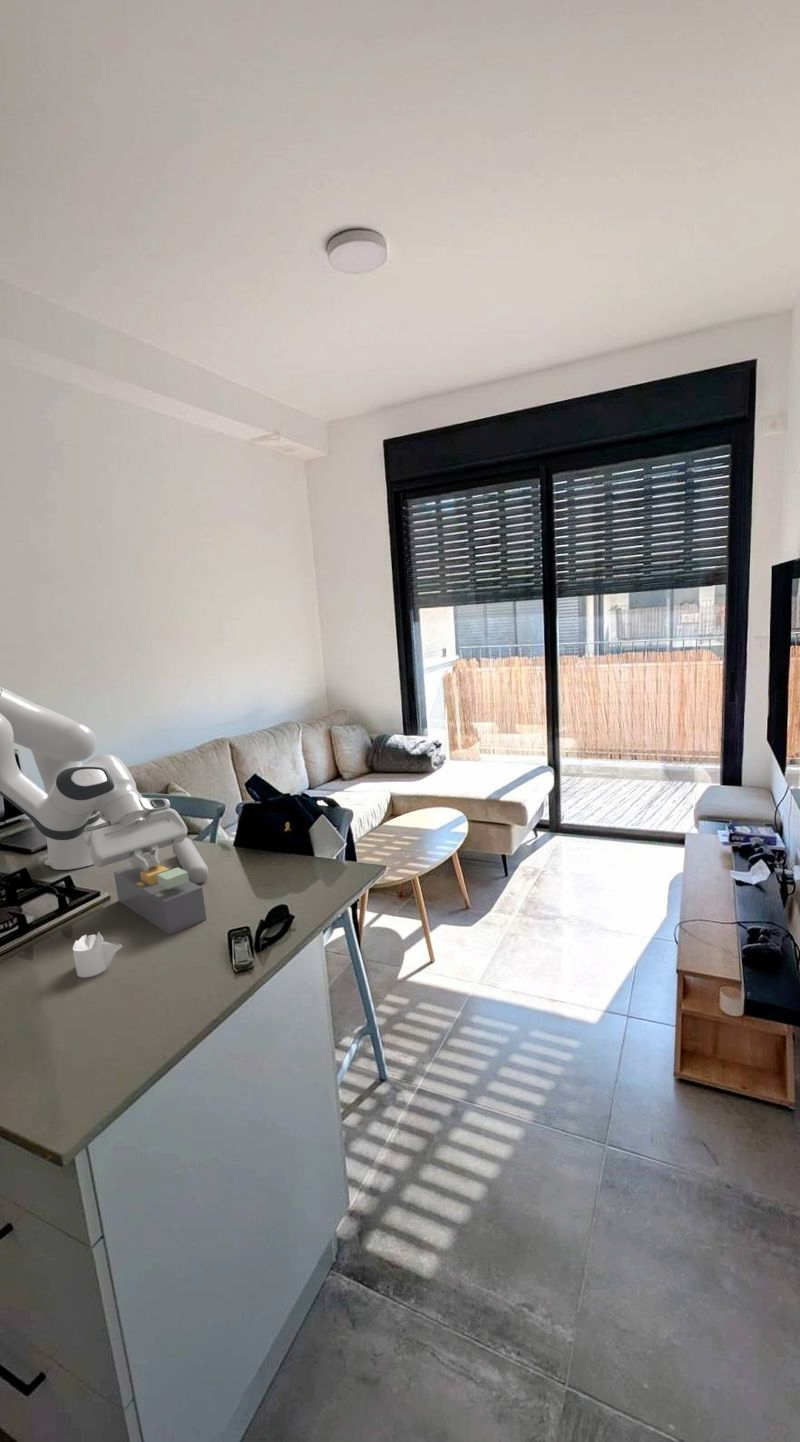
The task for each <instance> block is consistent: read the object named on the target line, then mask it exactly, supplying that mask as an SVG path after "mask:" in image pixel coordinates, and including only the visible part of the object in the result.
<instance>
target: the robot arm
mask: <svg viewBox="0 0 800 1442" xmlns="http://www.w3.org/2000/svg"><path fill="white" fill-rule="evenodd" d="M15 745H19V746H21V747H23V748H26V749H29V750H30V751H31V754H32V757H33V758H34V759H33V760H34V762H35V766H36V768H37V770H38V773H39V775H40V777H41V781H42V783H43V787H44V790H43V789H42V788H41V787H39V785H37V784H36V783H34V781H32V780H31V779H29V777H27V776H26V775H25V774H24V773H23V772H22V770H21V769H20V768H19V765H18V763H17V760H16V754H15ZM96 749H97V737H96V735H95V733H94V732H93V730H92V729H91V728H89V726H86V725H85V724H83V723H81V722H79V721H77V720H74V719H72V718H70V717H68V716H66V715H63V714H61V713H58V712H57V711H54V710H52V709H50V708H47V707H45V706H42V705H39V704H37V703H35V702H33V701H31V700H28V699H26V698H25V697H22V696H20V695H19V694H16V693H15V692H12V691H11V690H8V689H6V688H5V687H2V686H1V685H0V796H1V797H3V798H4V799H5V800H6V801H8V802H9V803H10V804H11V805H13V806H14V807H15V808H16V809H17V810H19V811H20V812H21V813H23V815H25V816H26V817H27V818H28V819H30V821H31V822H32V823H33V825H34V827H36V829H37V830H38V831H39V832H40V833H41V834H42V835H43V836H44V837H46V845H47V856H48V858H47V859H45V860H44V865H45V866H48V867H49V866H50V867H51V869H54V870H58V871H65V870H67V871H68V870H75V869H81V868H85V867H88V866H89V867H90V866H93V865H94V866H96V867H98V868H102V867H106V866H108V865H112V864H114V863H118V862H123V860H125V859H128V858H131V857H133V860H134V861H135V862H137V863H138V864H140V865H142V866H143V868H144V870H145V871H149V870H152V869H154V868H158V867H159V866H160V865H161V862H160V860H159V858H158V856H159V851H160V849H163V848H165V847H169V846H172V845H173V844H176V843H179V842H182V841H184V839H185V837H186V838H187V835H188V828H187V825H186V824H185V822H184V820H183V818H182V817H181V815H180V814H179V813H178V812H177V811H176V810H175V809H173V808H170V807H171V803H170V802H171V801H170V800H169V799H167V798H149V797H143V795H142V794H141V793H140V791H138V789H137V783H136V781H135V778H134V777H133V775H132V773H131V771H130V770H129V769H128V767H127V765H126V764H125V763H124V762H123V761H122V760H121V759H120V758H119V757H117V756H116V755H113V754H106V753H105V754H100V755H96V756H93V757H92V755H93V754H94V753H95V751H96ZM90 757H92V758H91V759H89V758H90ZM87 759H89V760H88V761H87V763H85V764H83V761H85V760H87ZM100 812H101V813H102V814H103V818H104V819H105V820H104V819H103V818H101V814H100ZM144 853H149V854H150V855H151V856H152V857H151V859H149V860H146V859H145V858H143V857H142V856H141V855H142V854H144Z"/></svg>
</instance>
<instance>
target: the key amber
mask: <svg viewBox="0 0 800 1442" xmlns="http://www.w3.org/2000/svg"><path fill="white" fill-rule="evenodd" d="M169 870H170V868H168V867H166V866H164V865H162V864H160V866H159V867H158V868H154V869H152V870H149V871H145V870H143V871H140V876H141V880H142V881H143V882H145V883H147V884H149V885H152V884H155V883H158V878H157V874H160V873H163V872H166V871H169Z"/></svg>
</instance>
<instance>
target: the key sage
mask: <svg viewBox="0 0 800 1442" xmlns="http://www.w3.org/2000/svg"><path fill="white" fill-rule="evenodd" d="M157 878H158V884H160V885H161V886H163V887H165V888H167V889H170V888H173V887H175V886H178V885H181V884H183V883H186V882H189V877H188V872H187V871H184V870H183V868H180V867H175V868H172V869H169V871H166V872H163V873H160V874H157Z"/></svg>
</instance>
